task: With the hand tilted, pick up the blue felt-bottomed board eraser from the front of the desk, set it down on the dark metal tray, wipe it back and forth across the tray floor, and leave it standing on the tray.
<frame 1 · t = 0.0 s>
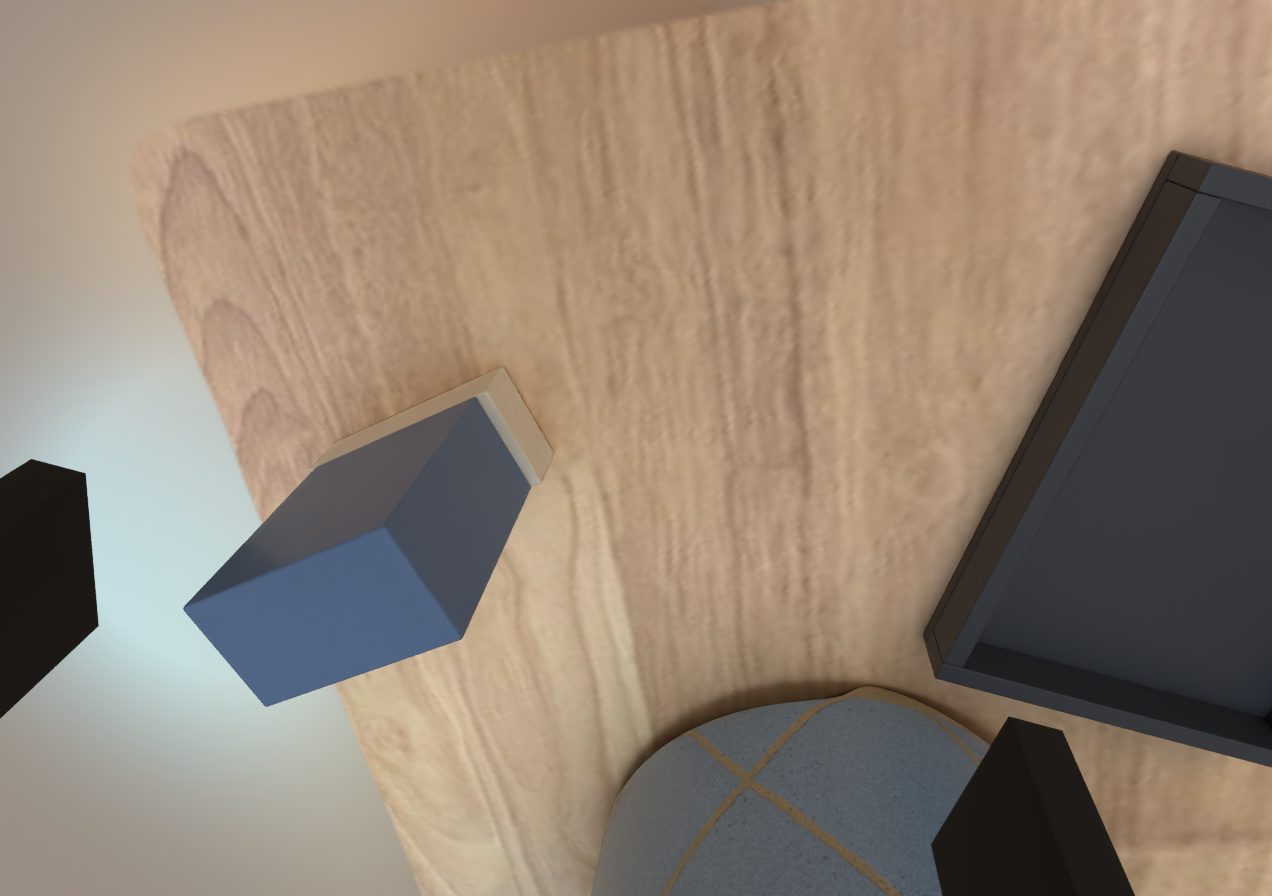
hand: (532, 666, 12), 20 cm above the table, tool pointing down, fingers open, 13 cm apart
planter: (822, 839, 41), on the table
tray: (1224, 481, 30), on the table
eraser: (443, 447, 34), on the table
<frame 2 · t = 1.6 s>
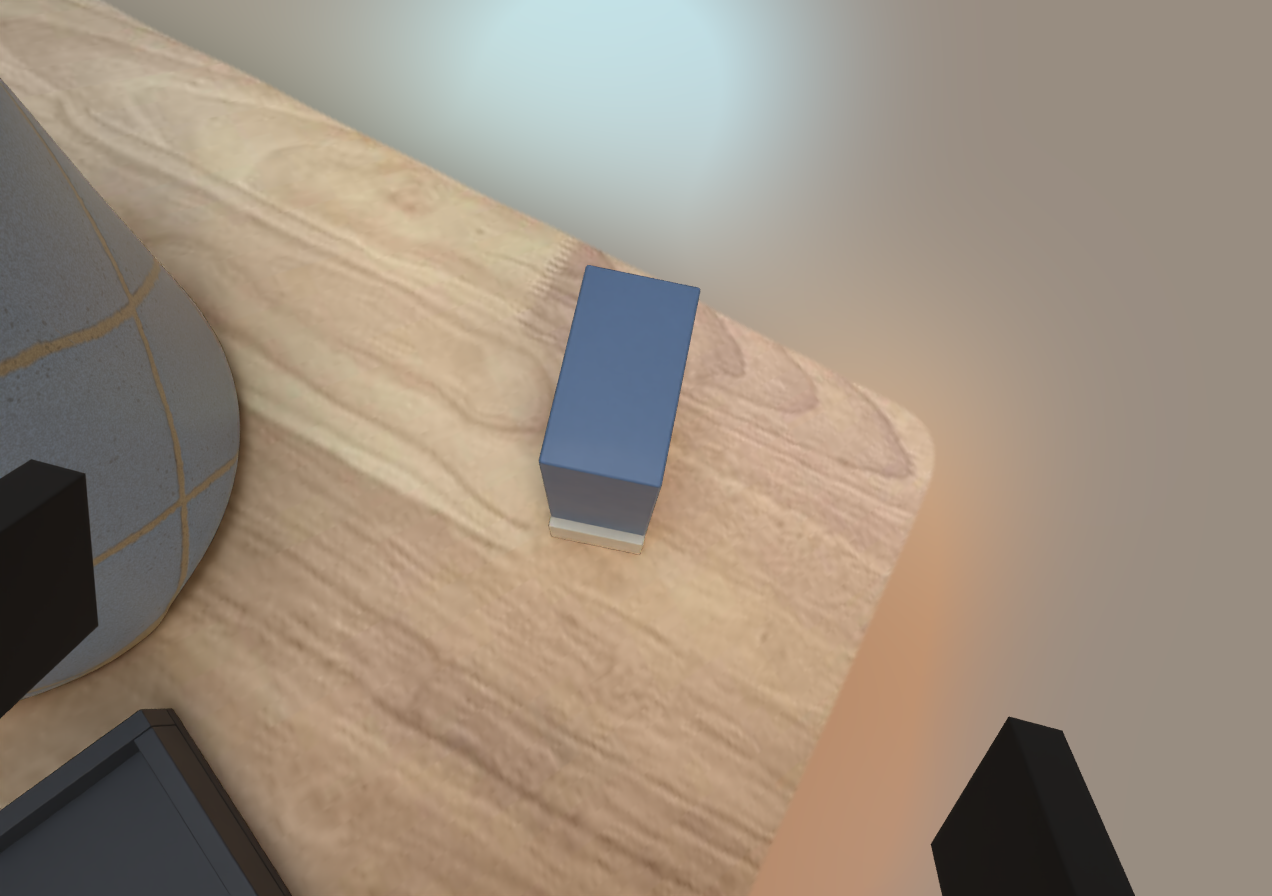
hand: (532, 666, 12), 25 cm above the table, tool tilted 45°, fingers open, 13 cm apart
planter: (11, 466, 37), on the table
eraser: (614, 459, 39), on the table
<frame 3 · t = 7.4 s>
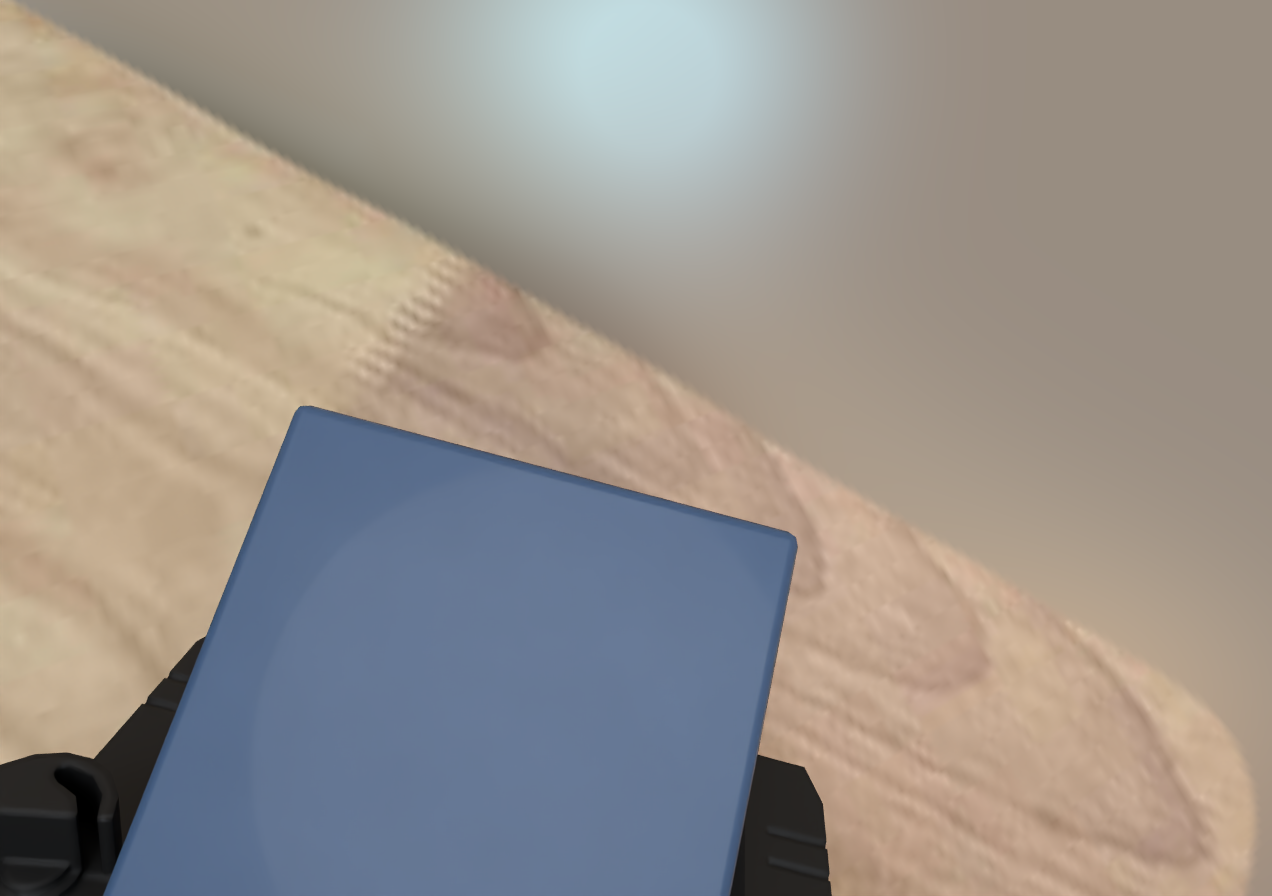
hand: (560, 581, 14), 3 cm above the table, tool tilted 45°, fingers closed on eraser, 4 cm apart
eraser: (506, 801, 16), on the table, touching gripper
when the fingers open (4 cm above the table, at t = 21.8 s): eraser stays where it is, resting on tray.
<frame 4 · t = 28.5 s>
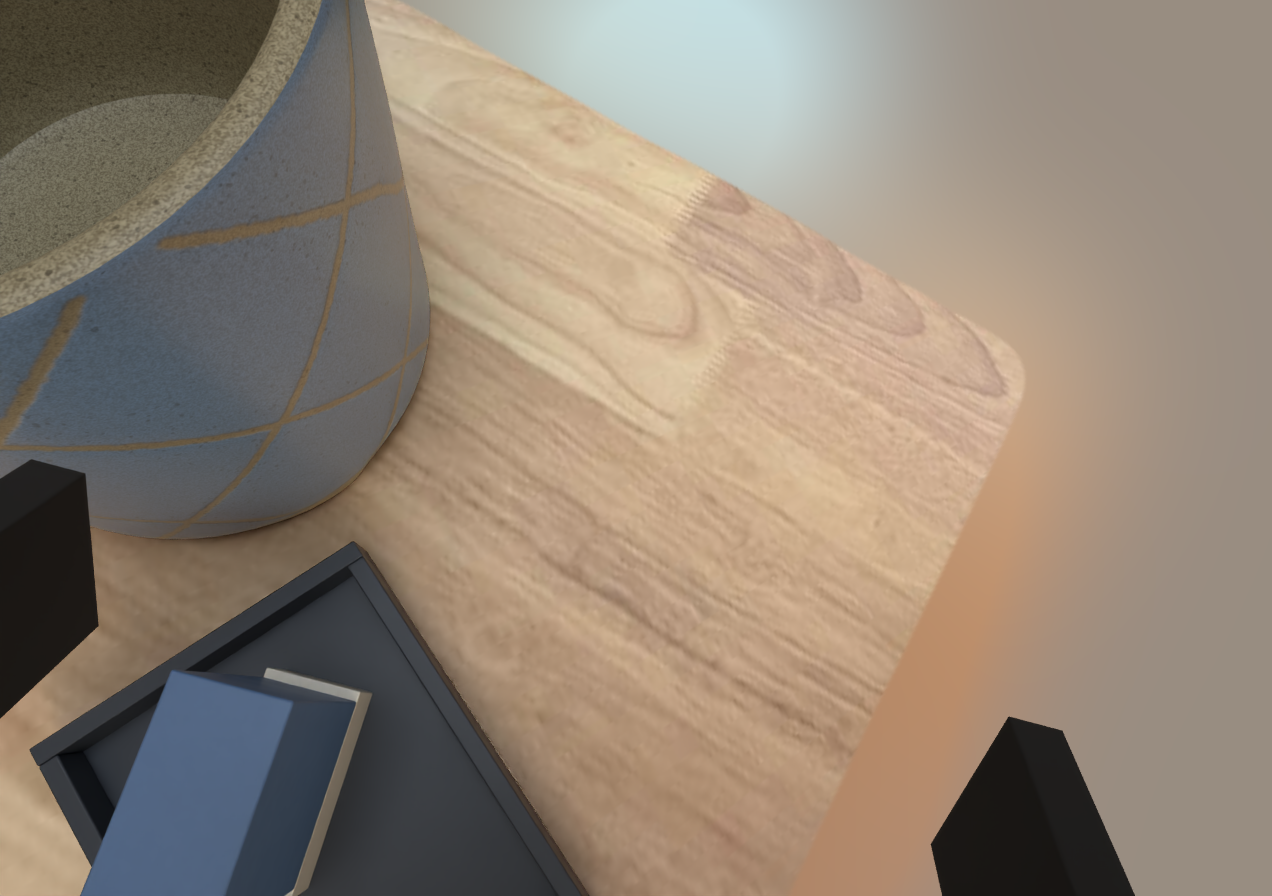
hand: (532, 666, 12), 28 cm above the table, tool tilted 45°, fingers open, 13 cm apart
planter: (222, 338, 42), on the table
tray: (336, 836, 36), on the table
eraser: (296, 775, 36), point 1 cm above the table, touching tray
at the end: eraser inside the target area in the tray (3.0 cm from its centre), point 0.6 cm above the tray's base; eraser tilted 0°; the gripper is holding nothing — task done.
